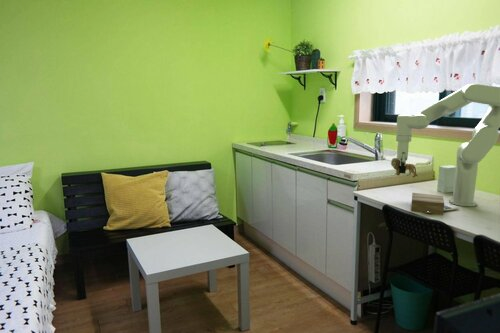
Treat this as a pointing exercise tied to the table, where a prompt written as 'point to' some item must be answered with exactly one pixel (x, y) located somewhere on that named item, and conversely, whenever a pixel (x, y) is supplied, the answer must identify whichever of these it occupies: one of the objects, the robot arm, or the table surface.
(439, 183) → the skincare box
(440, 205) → the walnut box
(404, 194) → the table surface
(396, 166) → the lion figurine
